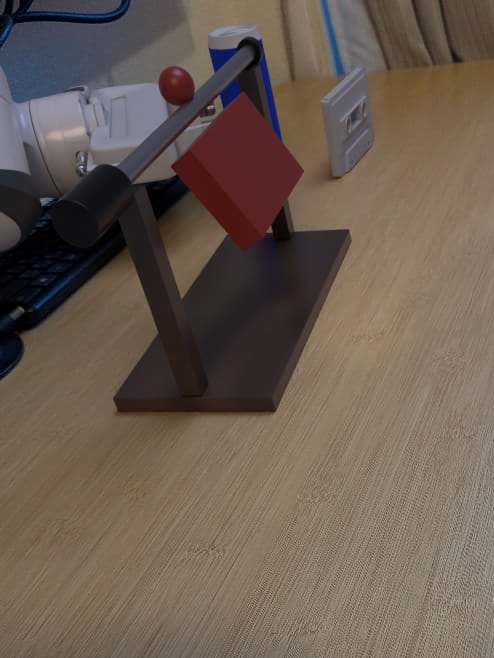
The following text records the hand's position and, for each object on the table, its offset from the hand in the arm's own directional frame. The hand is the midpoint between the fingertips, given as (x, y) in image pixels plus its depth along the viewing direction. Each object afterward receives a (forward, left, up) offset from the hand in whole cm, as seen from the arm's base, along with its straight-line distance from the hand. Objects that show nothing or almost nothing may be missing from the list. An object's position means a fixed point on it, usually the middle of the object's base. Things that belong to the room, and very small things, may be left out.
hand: (218, 116), depth 82 cm
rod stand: (+9, -26, -8) cm, 28 cm away
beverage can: (+3, +1, -8) cm, 9 cm away
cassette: (+11, +10, -8) cm, 17 cm away
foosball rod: (+13, -28, +1) cm, 31 cm away
